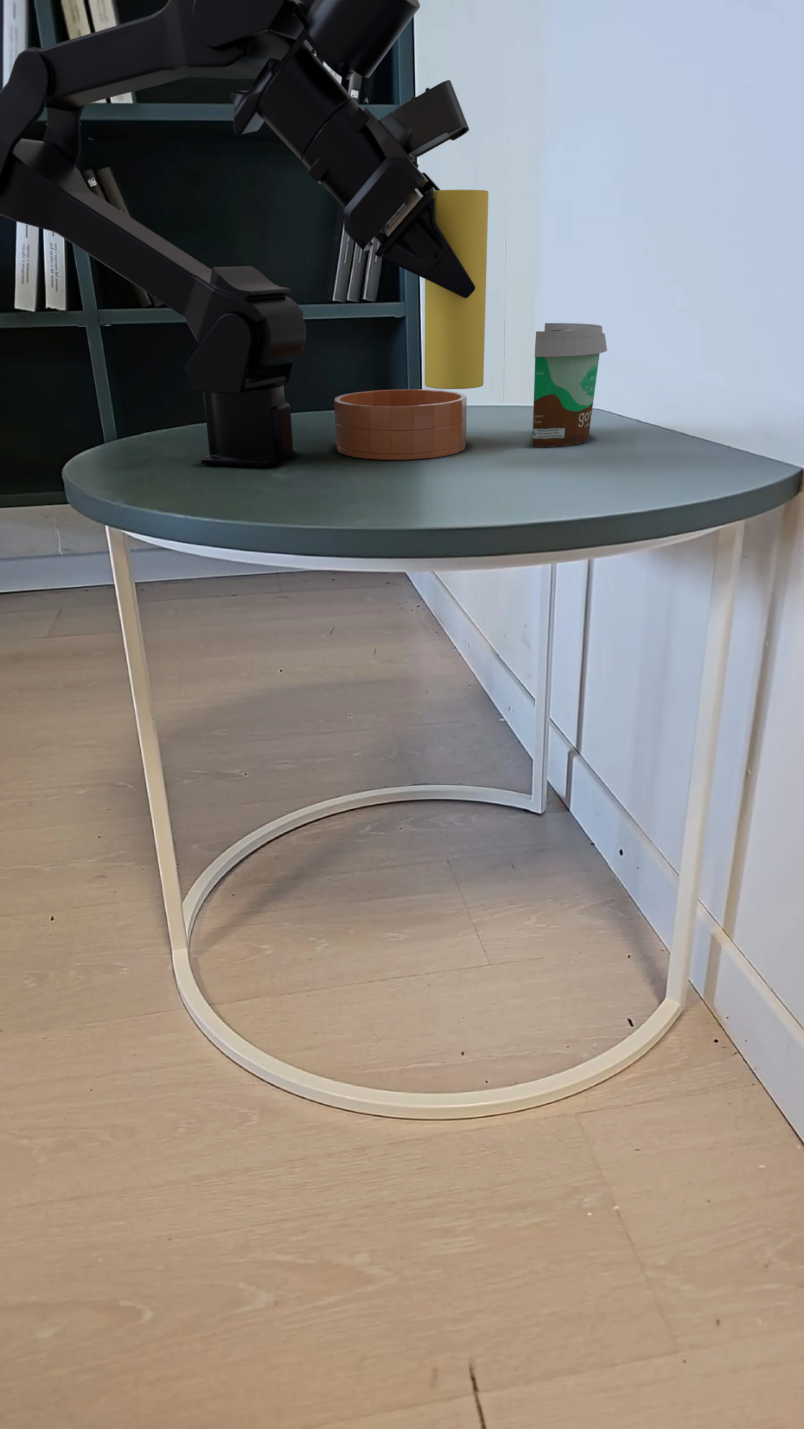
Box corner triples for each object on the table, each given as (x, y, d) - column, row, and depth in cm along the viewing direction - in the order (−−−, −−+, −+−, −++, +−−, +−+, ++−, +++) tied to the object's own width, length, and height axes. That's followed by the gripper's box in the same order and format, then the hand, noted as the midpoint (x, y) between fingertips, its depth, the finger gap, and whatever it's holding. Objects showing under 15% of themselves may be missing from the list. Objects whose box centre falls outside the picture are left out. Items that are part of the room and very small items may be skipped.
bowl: (317, 457, 86) (314, 405, 84) (361, 435, 96) (359, 388, 94) (447, 462, 83) (447, 408, 81) (478, 438, 93) (478, 390, 91)
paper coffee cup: (599, 451, 86) (608, 331, 82) (530, 449, 87) (535, 331, 83) (602, 428, 97) (609, 322, 93) (540, 428, 98) (545, 322, 94)
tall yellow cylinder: (432, 390, 76) (433, 189, 70) (418, 383, 80) (418, 193, 74) (490, 388, 77) (496, 189, 71) (473, 381, 81) (477, 193, 75)
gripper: (387, 8, 60) (554, 203, 64) (416, 61, 77) (546, 214, 81) (273, 155, 65) (436, 330, 68) (323, 175, 81) (452, 315, 85)
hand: (472, 292), depth 76 cm, fingers closed on tall yellow cylinder, 5 cm apart
